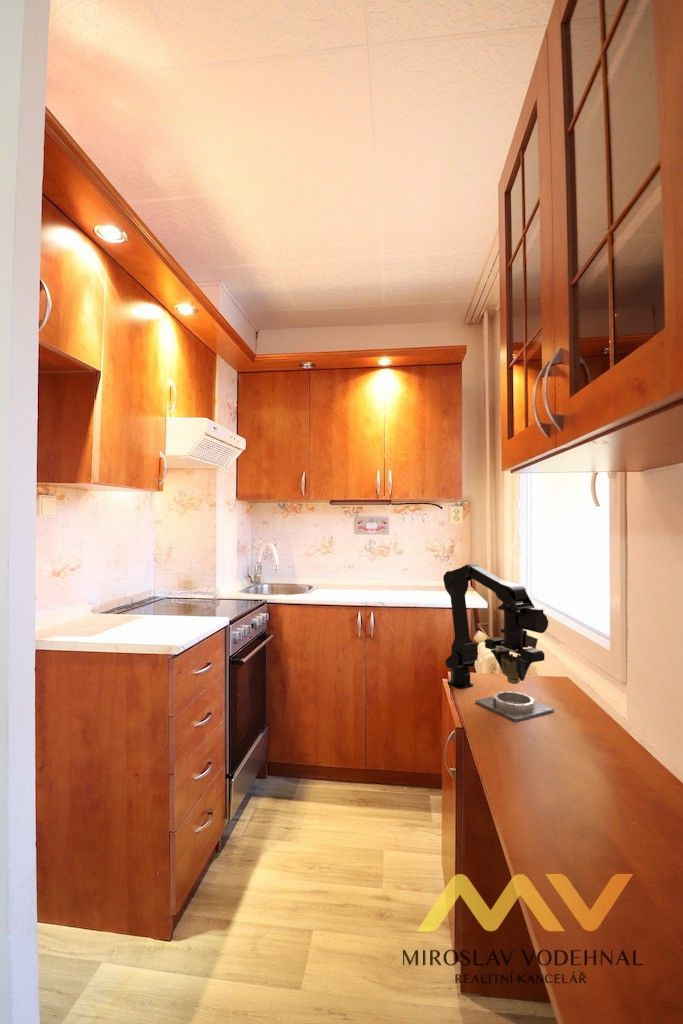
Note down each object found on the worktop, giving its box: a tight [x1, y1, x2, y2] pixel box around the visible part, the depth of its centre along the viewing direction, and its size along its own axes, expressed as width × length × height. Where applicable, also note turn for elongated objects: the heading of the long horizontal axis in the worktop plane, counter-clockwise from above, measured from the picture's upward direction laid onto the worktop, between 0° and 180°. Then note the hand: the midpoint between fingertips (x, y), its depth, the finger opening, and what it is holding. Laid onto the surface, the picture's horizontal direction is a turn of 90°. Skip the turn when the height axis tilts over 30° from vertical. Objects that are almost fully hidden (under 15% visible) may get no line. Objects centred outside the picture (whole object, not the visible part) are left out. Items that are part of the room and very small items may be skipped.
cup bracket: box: [474, 690, 555, 723], centre depth 146 cm, size 16×16×3 cm
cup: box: [501, 653, 521, 685], centre depth 146 cm, size 8×7×8 cm
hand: (513, 677), depth 146 cm, fingers closed on cup, 6 cm apart
